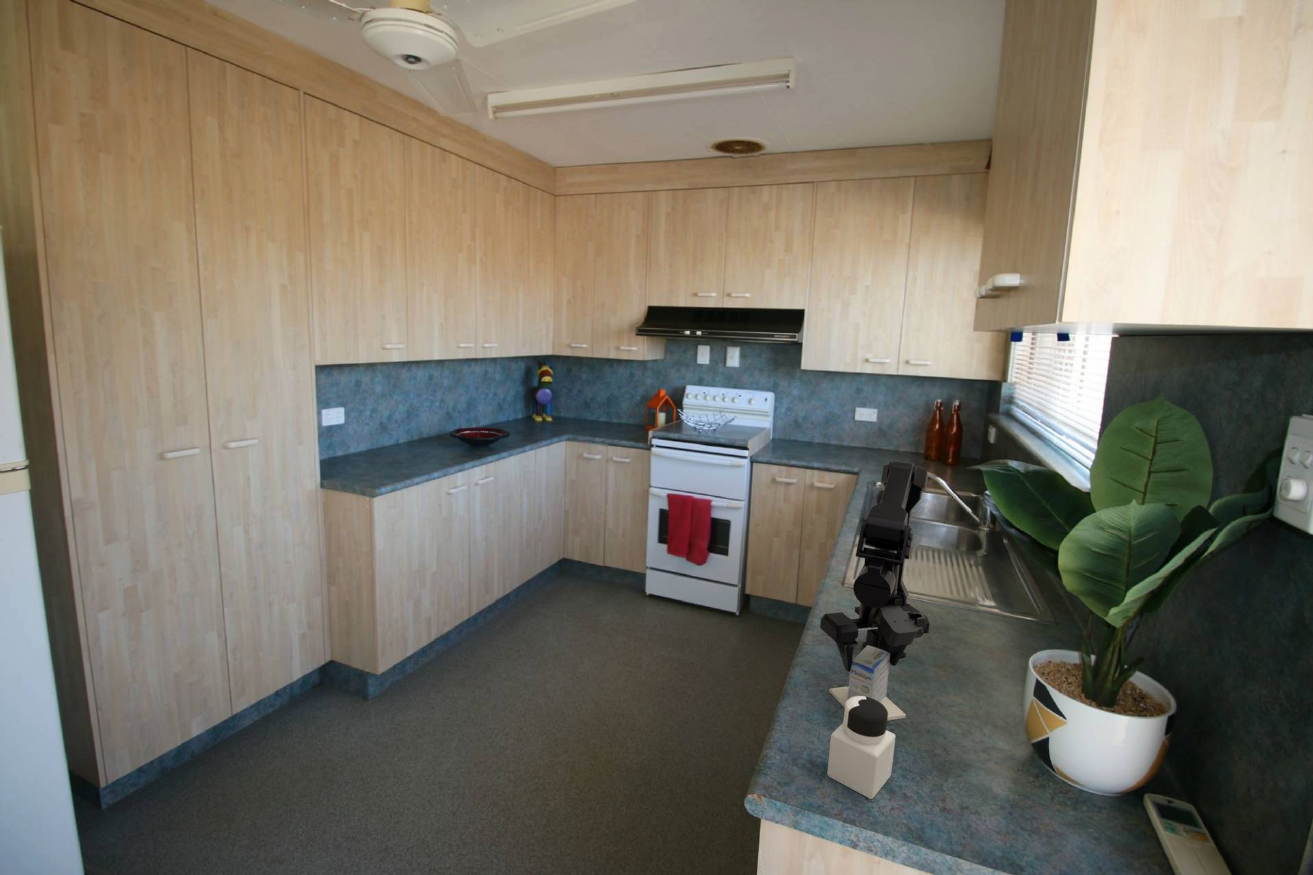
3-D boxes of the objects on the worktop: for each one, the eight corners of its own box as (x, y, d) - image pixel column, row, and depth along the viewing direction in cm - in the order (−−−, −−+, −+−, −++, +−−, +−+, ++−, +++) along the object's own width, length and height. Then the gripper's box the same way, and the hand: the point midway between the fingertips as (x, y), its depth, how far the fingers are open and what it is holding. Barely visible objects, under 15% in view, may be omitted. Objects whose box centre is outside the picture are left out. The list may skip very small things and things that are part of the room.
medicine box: (863, 687, 118) (866, 643, 117) (887, 695, 115) (891, 651, 114) (846, 705, 112) (849, 660, 111) (871, 715, 109) (875, 669, 108)
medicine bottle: (891, 776, 96) (900, 704, 94) (871, 801, 90) (880, 725, 88) (847, 753, 100) (854, 684, 98) (826, 776, 95) (833, 704, 93)
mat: (871, 686, 120) (871, 683, 120) (905, 717, 110) (905, 714, 110) (829, 691, 117) (829, 688, 117) (860, 724, 108) (860, 721, 108)
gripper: (859, 610, 99) (849, 700, 102) (957, 601, 105) (946, 686, 107) (822, 582, 110) (814, 664, 113) (913, 574, 115) (904, 653, 118)
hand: (870, 667), depth 112 cm, fingers open, 9 cm apart
